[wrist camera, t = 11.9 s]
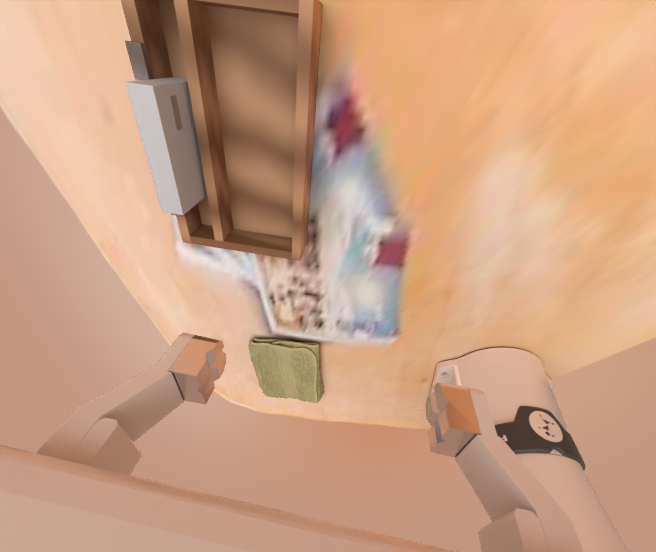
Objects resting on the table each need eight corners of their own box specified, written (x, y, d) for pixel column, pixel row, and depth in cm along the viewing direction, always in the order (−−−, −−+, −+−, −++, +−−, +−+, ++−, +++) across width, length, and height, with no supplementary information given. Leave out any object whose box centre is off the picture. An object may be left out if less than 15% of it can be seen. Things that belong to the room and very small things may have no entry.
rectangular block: (216, 187, 31) (183, 215, 26) (198, 185, 32) (162, 211, 26) (200, 79, 25) (153, 86, 20) (178, 76, 25) (125, 81, 20)
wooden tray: (306, 241, 36) (299, 263, 32) (199, 225, 36) (179, 244, 32) (322, 4, 22) (312, -7, 18) (149, -18, 23) (105, -33, 19)
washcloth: (321, 336, 48) (318, 352, 45) (325, 392, 58) (323, 407, 56) (247, 331, 49) (240, 346, 47) (264, 386, 60) (259, 400, 57)
